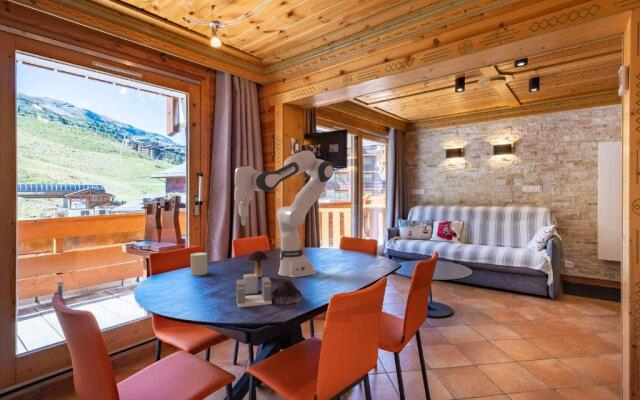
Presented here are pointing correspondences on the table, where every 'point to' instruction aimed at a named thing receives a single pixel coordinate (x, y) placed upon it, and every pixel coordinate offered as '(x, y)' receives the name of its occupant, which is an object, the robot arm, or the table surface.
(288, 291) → the dark grey rock
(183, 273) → the table surface
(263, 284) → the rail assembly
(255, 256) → the decorative mushroom
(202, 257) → the can
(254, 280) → the block
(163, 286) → the table surface
